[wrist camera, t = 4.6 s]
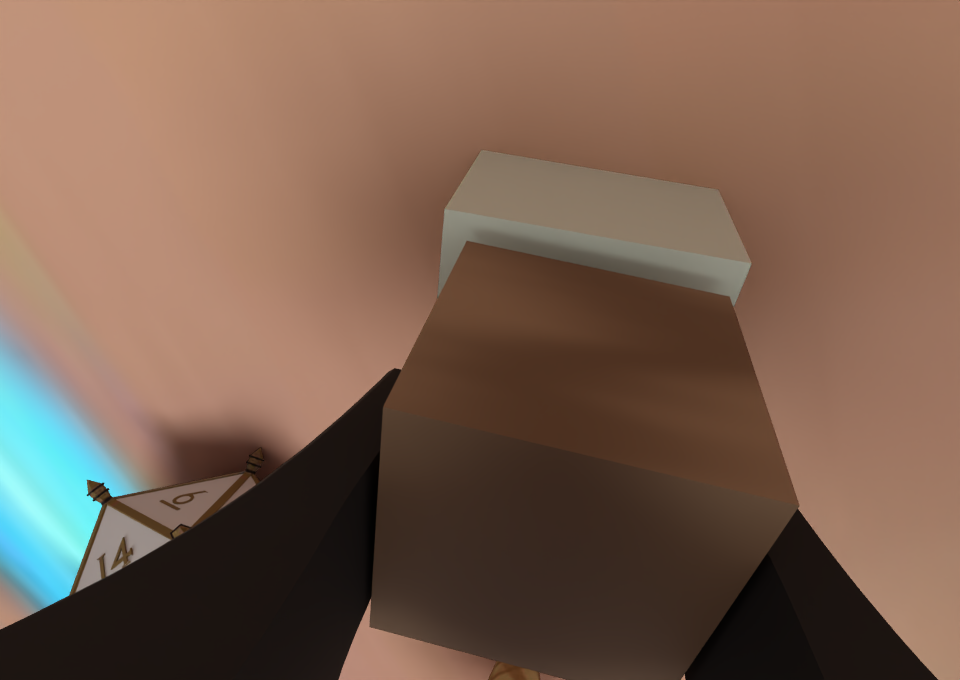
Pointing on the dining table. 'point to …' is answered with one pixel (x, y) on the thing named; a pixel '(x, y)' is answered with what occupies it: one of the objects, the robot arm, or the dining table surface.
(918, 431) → the dining table surface
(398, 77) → the dining table surface
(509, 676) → the ice cream cone
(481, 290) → the walnut cube
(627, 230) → the base block
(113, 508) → the game die
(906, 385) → the dining table surface
